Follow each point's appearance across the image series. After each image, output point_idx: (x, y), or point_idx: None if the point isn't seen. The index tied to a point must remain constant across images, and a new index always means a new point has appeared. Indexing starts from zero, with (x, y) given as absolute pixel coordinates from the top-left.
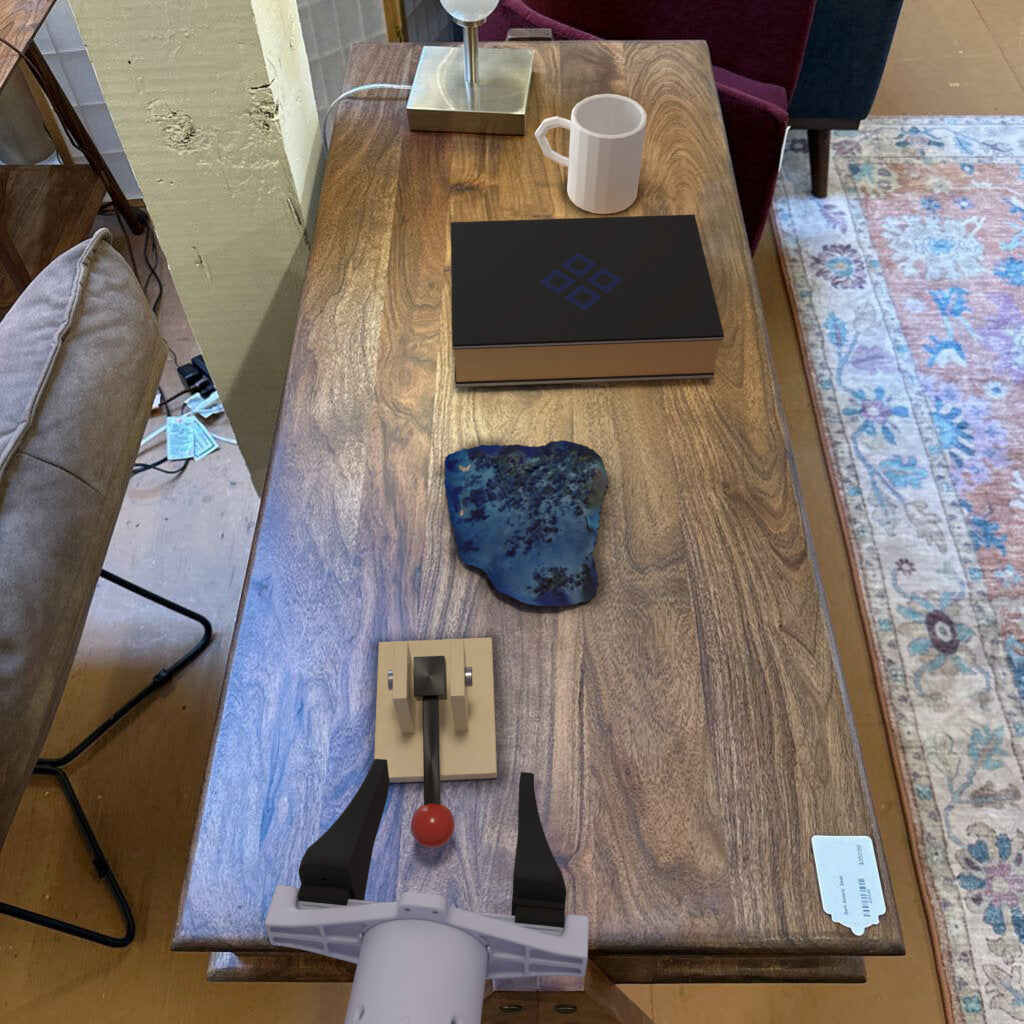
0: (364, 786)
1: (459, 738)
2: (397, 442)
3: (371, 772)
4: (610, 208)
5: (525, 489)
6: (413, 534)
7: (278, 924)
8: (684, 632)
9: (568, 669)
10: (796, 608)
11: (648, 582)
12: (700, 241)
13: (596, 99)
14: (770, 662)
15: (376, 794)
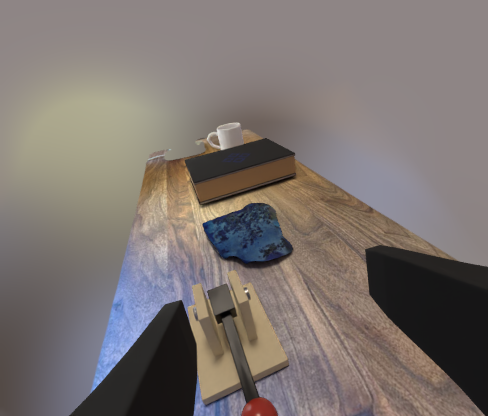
0: (142, 338)
1: (253, 345)
2: (180, 228)
3: (156, 317)
4: None
5: (241, 222)
6: (195, 256)
7: None
8: (344, 249)
9: (298, 285)
10: (385, 224)
11: (314, 237)
12: (271, 141)
13: (223, 126)
14: (394, 246)
15: (167, 346)
